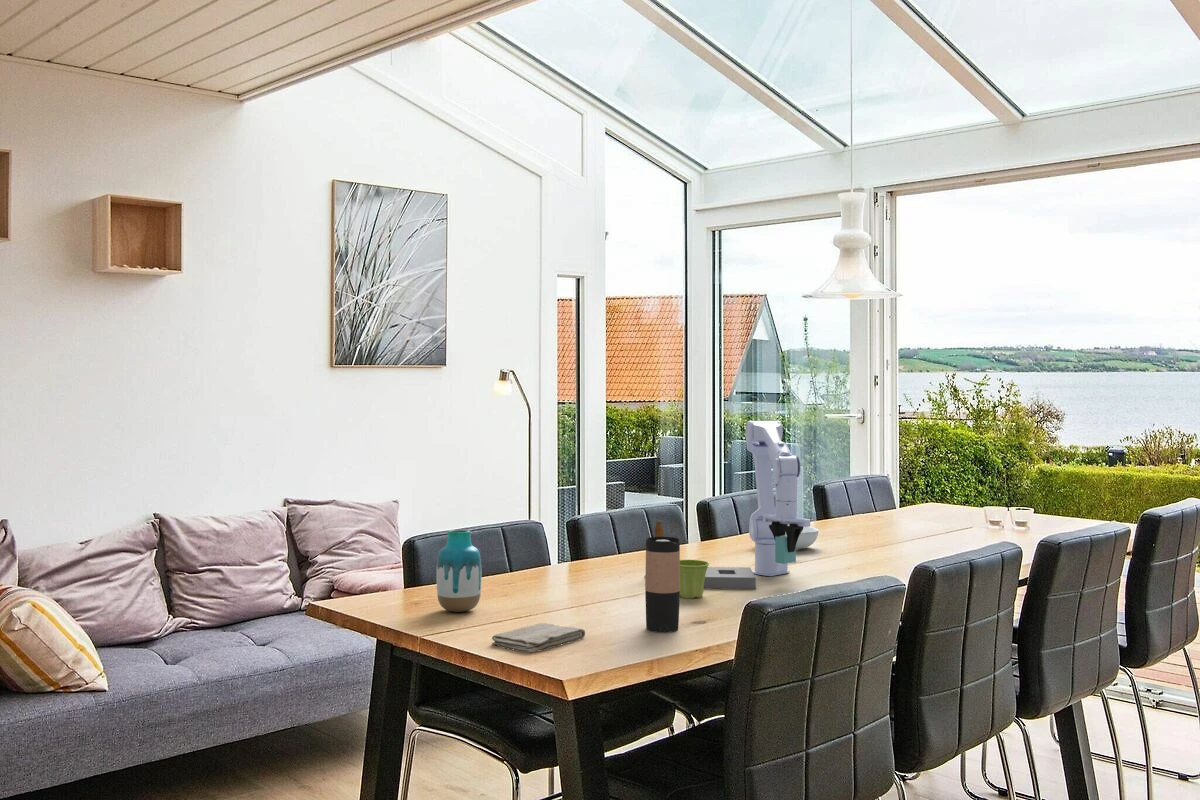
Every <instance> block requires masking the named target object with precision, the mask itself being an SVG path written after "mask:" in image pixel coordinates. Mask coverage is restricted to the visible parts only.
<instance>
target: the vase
mask: <svg viewBox="0 0 1200 800" xmlns="http://www.w3.org/2000/svg"><path fill="white" fill-rule="evenodd" d="M471 533H472V532H471V530H468V529H449V530H448V531H447V540H446V544H445V546H444V547H441V549H440V550H439V551H438V554H437V559H436V596H437V599H438V603H439V605H440V606H441V607H442V608H443V609H444V610H447V611H449V612H453V613H454V612H456V613H461V612H467V611H471V610H473V609H475V608H476V607H477V605H478V604H479V602H480V598H481V593H482V560H481V559H482V558H481V557H482V556H481V553H480V551H479V549H478V548H477V547H475V546H474V545H473V544H472V537H471V535H472V534H471Z"/></svg>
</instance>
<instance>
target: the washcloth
mask: <svg viewBox="0 0 1200 800" xmlns="http://www.w3.org/2000/svg"><path fill="white" fill-rule="evenodd" d="M585 636H586V631H585V629H583V628H579V627H574V626H560V625H555V624H551V623H547V622H541V623H537V624H533V625H527V626H523V627H518V628H515V629H512V630H509V631H505V632H499V633H496V634H494V635H493V636H492V637H491V640H492V641H494V642H492V643H491V646H496V645H497V646H496V647H498V646H499V647H498V648H501V647H504V648H503V649H505V648H509V649H508V650H511V649H514V650H513V651H516V650H518V651H517V652H520V651H522V653H525V652H527V653H526V654H528V653H529V654H532V653H537V652H536V651H538V650H542V651H546V650H545V649H547V650H550V649H553V648H556V647H555V646H557V647H560V646H562V645H561V644H564V645H566V644H565V643H567V644H569V643H568V642H570V643H573V642H572V641H574V642H576V641H575V640H577V641H579V640H578V639H580V640H583V639H584V637H585ZM559 645H560V646H559ZM552 647H553V648H552ZM549 648H550V649H549ZM531 652H532V653H531Z"/></svg>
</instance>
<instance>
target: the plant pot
mask: <svg viewBox="0 0 1200 800" xmlns="http://www.w3.org/2000/svg"><path fill="white" fill-rule="evenodd" d="M709 566H710V562H709V561H705V560H700V559H680V597H681V598H684V599H694V598H700V599H701V598H702V597H703V593H704V589H705V588H704V581H705V575H706V571H707V567H709Z"/></svg>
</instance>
